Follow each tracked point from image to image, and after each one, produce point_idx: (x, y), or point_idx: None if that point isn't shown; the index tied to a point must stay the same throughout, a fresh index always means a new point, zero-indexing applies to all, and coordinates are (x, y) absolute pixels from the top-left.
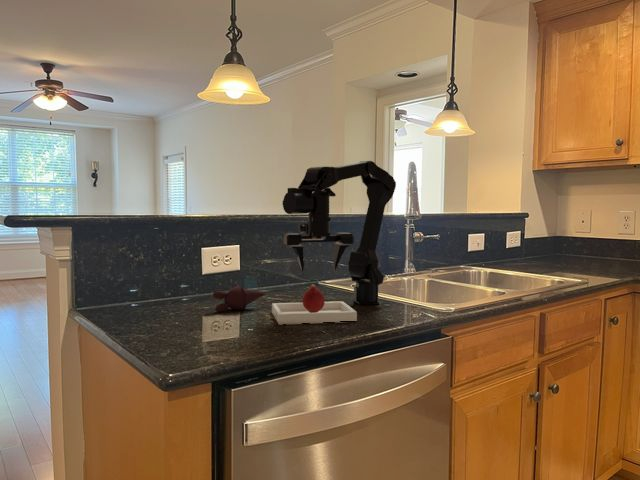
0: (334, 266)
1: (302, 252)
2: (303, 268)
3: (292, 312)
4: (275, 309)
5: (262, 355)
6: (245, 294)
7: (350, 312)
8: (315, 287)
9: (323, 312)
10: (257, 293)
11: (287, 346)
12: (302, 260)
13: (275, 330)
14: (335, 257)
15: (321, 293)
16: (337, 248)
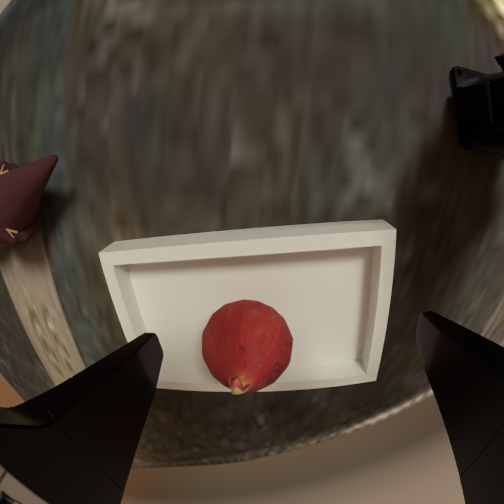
0: (423, 349)
1: (117, 496)
2: (158, 370)
3: (179, 280)
4: (124, 331)
5: (164, 465)
6: (14, 243)
7: (356, 382)
8: (248, 390)
9: (273, 385)
10: (34, 189)
11: (191, 455)
12: (133, 434)
13: (156, 399)
14: (459, 404)
15: (277, 377)
16: (488, 482)
